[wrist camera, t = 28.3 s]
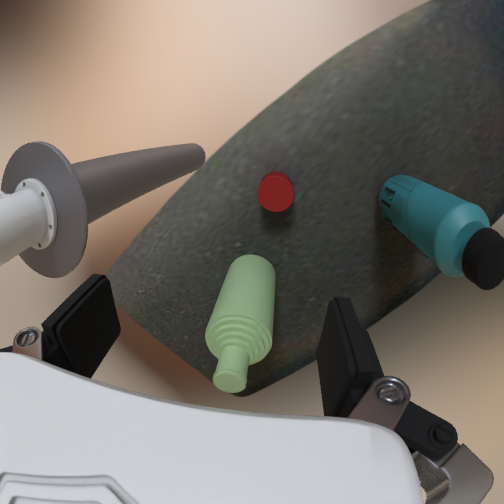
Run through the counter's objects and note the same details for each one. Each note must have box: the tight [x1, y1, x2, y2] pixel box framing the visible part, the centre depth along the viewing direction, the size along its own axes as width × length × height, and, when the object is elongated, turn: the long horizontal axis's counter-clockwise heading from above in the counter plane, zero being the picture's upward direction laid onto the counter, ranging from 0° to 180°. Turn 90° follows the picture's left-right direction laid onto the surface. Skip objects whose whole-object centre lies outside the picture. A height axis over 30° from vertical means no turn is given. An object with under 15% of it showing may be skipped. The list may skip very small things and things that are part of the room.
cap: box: [257, 172, 294, 212], centre depth 31 cm, size 4×4×4 cm
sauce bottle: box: [205, 255, 276, 393], centre depth 29 cm, size 6×6×18 cm
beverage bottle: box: [378, 174, 504, 290], centre depth 22 cm, size 6×7×20 cm
